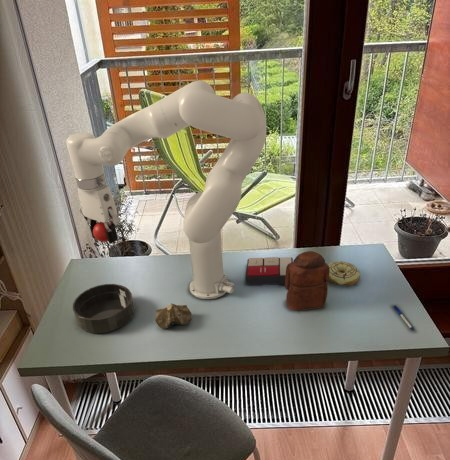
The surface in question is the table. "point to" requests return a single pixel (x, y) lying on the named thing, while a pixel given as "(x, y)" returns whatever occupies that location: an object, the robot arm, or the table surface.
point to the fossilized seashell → (173, 315)
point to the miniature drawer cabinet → (267, 270)
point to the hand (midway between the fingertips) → (105, 238)
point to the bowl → (104, 308)
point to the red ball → (100, 232)
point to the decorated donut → (343, 273)
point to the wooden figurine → (307, 281)
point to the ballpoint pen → (402, 317)
